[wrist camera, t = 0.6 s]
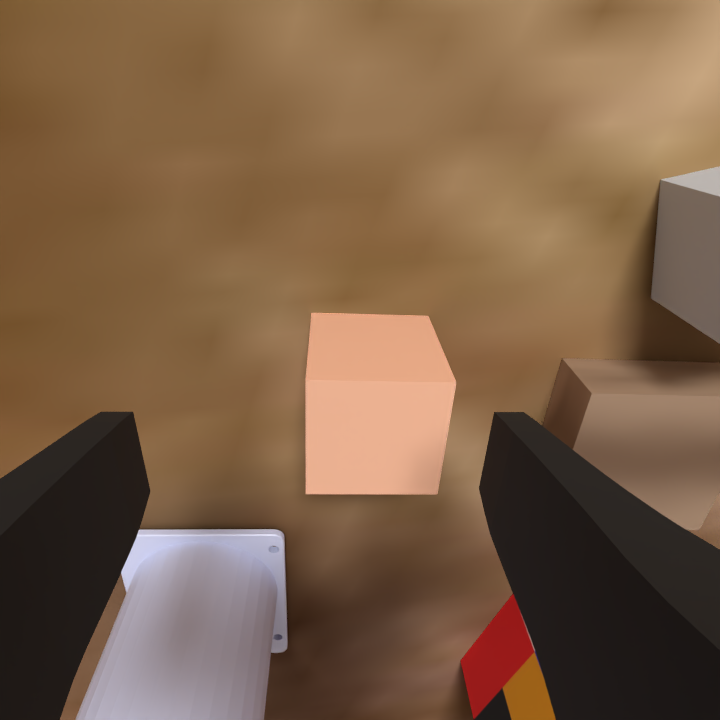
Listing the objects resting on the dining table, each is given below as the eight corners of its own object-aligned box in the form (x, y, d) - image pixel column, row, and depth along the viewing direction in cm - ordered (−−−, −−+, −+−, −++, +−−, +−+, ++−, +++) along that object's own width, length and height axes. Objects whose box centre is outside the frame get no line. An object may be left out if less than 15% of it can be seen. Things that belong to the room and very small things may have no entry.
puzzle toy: (543, 553, 26) (649, 786, 18) (693, 588, 28) (854, 812, 20) (460, 659, 31) (511, 888, 22) (595, 683, 33) (691, 901, 24)
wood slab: (659, 482, 25) (699, 529, 22) (522, 481, 24) (545, 529, 21) (717, 359, 21) (771, 397, 19) (558, 354, 21) (591, 393, 18)
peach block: (415, 410, 21) (437, 494, 17) (310, 409, 21) (305, 494, 17) (427, 315, 19) (456, 382, 15) (311, 312, 19) (305, 379, 15)
